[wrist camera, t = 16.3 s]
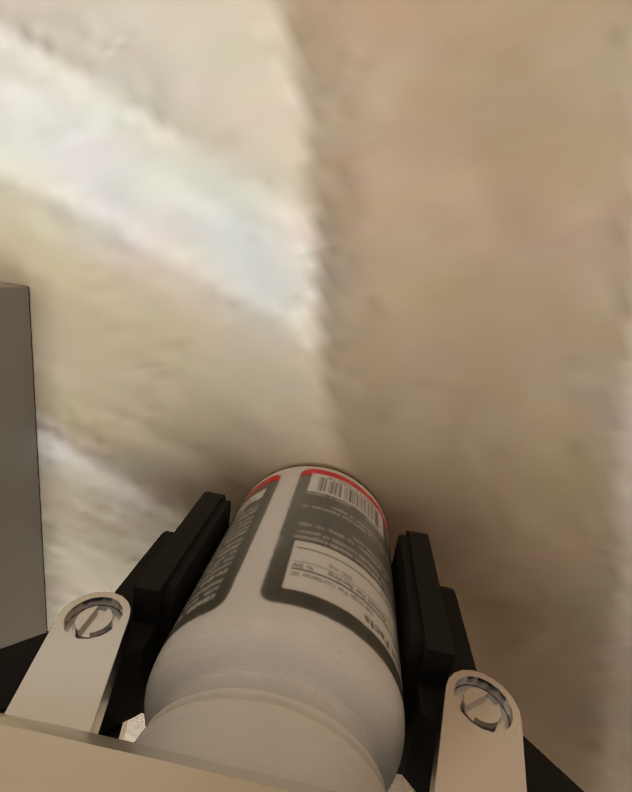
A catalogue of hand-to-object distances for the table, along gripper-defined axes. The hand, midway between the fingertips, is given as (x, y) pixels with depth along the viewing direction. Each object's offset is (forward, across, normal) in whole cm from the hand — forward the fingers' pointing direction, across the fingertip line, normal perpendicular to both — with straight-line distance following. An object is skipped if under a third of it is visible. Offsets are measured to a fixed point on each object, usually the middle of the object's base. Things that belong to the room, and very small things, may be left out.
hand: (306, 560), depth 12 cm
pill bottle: (+2, 0, 0) cm, 2 cm away
